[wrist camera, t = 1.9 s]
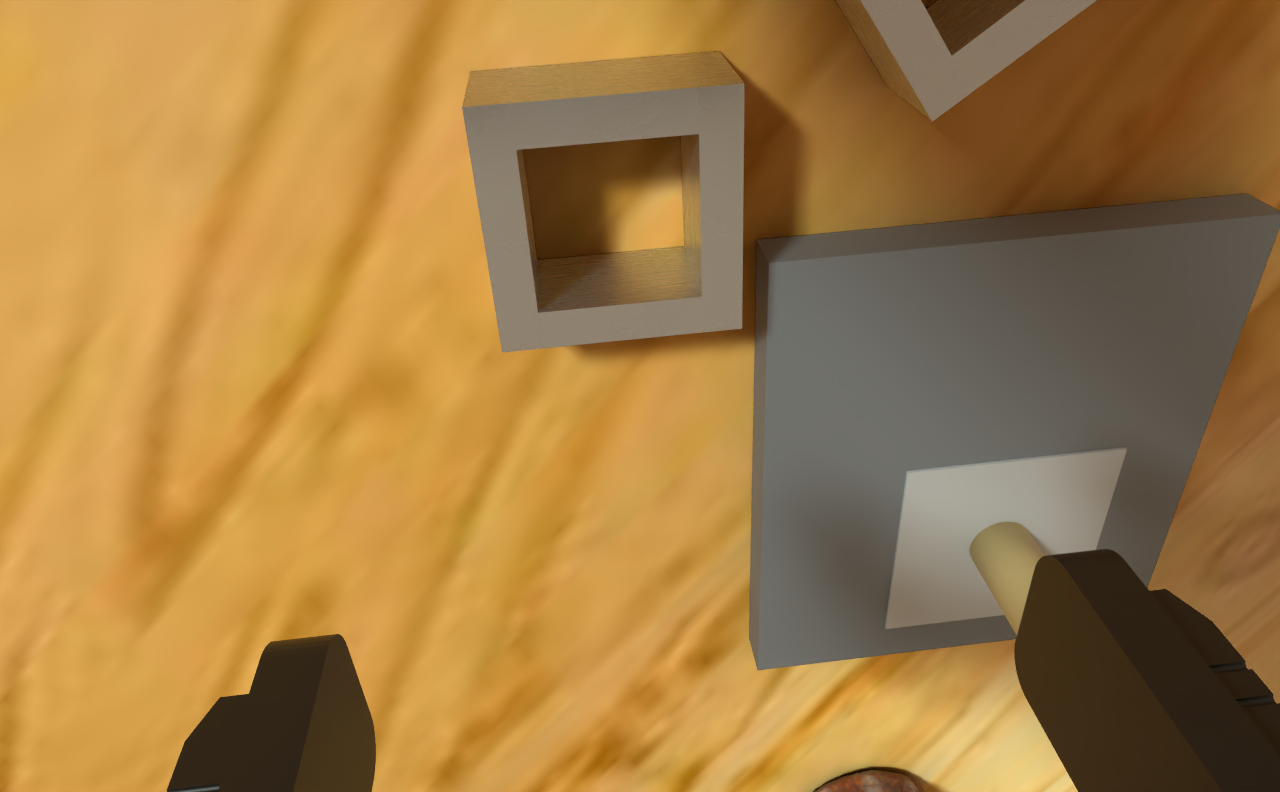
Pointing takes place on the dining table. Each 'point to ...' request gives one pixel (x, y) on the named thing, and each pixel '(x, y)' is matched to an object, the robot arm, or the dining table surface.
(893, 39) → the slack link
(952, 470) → the keeper board
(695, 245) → the grey square ring
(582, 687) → the dining table surface
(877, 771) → the sauce bottle
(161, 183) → the dining table surface
